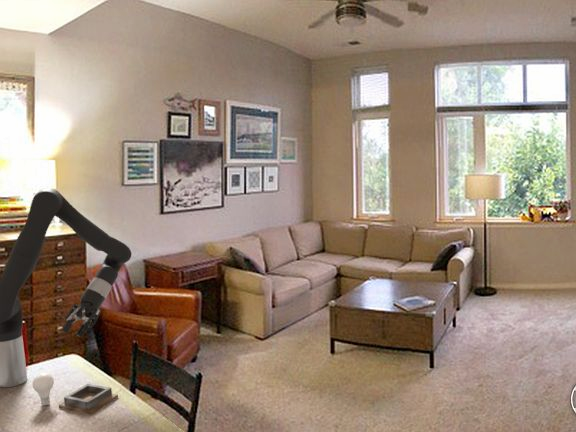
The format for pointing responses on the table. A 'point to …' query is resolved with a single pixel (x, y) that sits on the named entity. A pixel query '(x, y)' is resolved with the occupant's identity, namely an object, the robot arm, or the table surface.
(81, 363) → the table surface
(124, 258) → the robot arm
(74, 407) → the bulb stand
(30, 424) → the table surface
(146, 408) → the table surface
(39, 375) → the lightbulb
